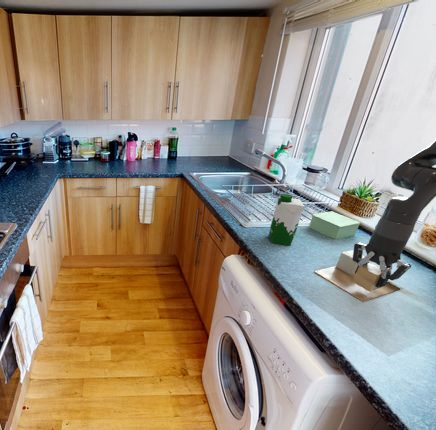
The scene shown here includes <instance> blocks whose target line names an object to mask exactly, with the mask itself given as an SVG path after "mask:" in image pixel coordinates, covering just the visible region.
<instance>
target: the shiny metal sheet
mask: <svg viewBox="0 0 436 430" xmlns="http://www.w3.org/2000/svg"><path fill="white" fill-rule="evenodd" d="M313 273H315V274H316V275H318V276H320V277H321V278H323V279H325V280H326V281H328V282H329V283H331V284H333V285H334V286H336V287H338V288H340V289H341V290H343V292H346V293H348V294H349V295H351V296H352V297H354V298H356V299H357V300H359V301H361V302H362V303H364V302H367V301H370V300H373V299H376V298H380V297H383V296H385V295H388V294H393V293H395V292H398V291H400V290H401V288H400V287H398V286H396V285H394V284H392V283H390V282H388V281H387V283H386V285H385V286H384V287H381V288H379V289H376V290H372V291H368V290H366V289H364V288H362V287H361V286H359V285H357V284H355V283H354V282H352V281H353V279H354V277H355V275H356V274H355V273H354V274H348V273H346V272H345V271H343V270H341V269H339V268H337V267H336V265H333V266H328V267H326V268H321V269H318V270H314V271H313Z"/></svg>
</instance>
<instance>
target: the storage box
mask: <svg viewBox="0 0 436 430" xmlns="http://www.w3.org/2000/svg"><path fill="white" fill-rule="evenodd" d="M361 224H362V222H361V221H359V220H356V219H353V218H350V217H348V216H346V215H343V214H340V213H338V212H335V211H332V210H331V211H325V212H324V211H323V212H318V213H313V214H311V219H310V223H309V225H308V228H310V229H311V230H314V231H316V232H318V233H320V234H322V235H324V236H326V237H329V238H331V239H332V240H334V241H336V240H341V239H344V238H350V237H355V235H356V234H357V231H358V229H359V226H360V225H361Z"/></svg>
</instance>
